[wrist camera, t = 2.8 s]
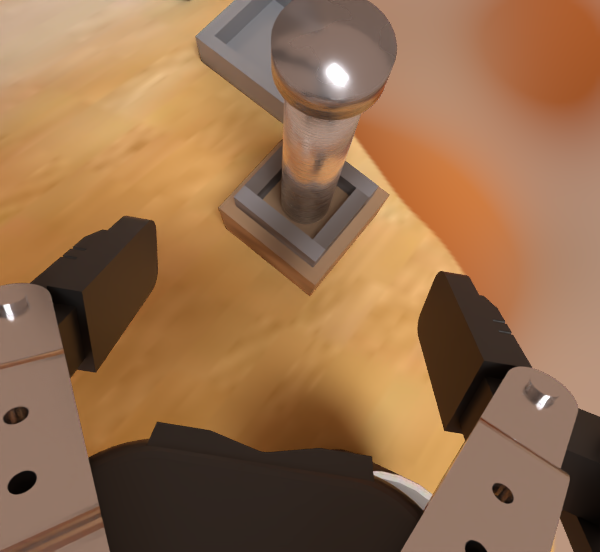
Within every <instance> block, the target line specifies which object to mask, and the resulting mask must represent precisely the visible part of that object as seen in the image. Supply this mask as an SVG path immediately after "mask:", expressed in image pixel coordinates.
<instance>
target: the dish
mask: <svg viewBox="0 0 600 552" xmlns="http://www.w3.org/2000/svg"><path fill="white" fill-rule="evenodd" d="M291 1H293V0H234V1H233V2H232V3H231V4H230V5H229V6H228V7H227V8H226V9H225V10H223V11H222V12H221V13H220V14H219V15H218V16H217V17H216V18H215V19H214V20H213V21H212V22H210V23H209V24H208V25H207V26H206V27H205V28H204V29H203V30H202V31H201V32H200V33H198V34H197V35H196V36H195V37H196V41H197V45H198V49H199V53H200V57H201V61H202V62H203V63H205V64H206V65H207V66H209V67H210V68H211V69H212V70H214V71H215V72H216V73H218V74H219V75H220V76H222V77H223V78H224V79H226V80H227V81H228V82H229V83H231V84H232V85H233V86H235V87H236V88H237V89H239V90H240V91H241V92H243V93H244V94H245V95H246V96H248V97H249V98H250V99H252V100H253V101H254V102H256V103H257V104H258V105H260V106H261V107H262V108H263V109H265V110H266V111H267V112H269V113H270V114H271V115H273V116H274V117H275V118H277V119H278V120H279V121H281V122H282V123H283V121H284V98H283V97H282V96H281V94H280V93H279V91H278V90H277V88H276V86H275V83H274V80H273V77H272V71H271V33H272V28H273V25H274V22H275V20H276V18H277V16H278V15H279V13H280V12H281V11H282V10H283V8H284V7H285V6H286V5H288V4H289V3H290V2H291Z"/></svg>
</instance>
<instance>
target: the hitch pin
mask: <svg viewBox="0 0 600 552" xmlns="http://www.w3.org/2000/svg"><path fill="white" fill-rule="evenodd" d="M396 54H397V43H396V37H395V33H394V30H393V28H392V26H391V24H390V22H389V21H388V19H387V18H386V17H385V15H384V14H383V13H382V12H381V11H380V10H379V9H378V8H377V7H376V6H375V5H373V4H372V3H371V2H369V1H367V0H293V1H291V2H290V3H289V4H288V5H286V6H285V7H284V8H283V10H282V11H281V12H280V13H279V15H278V16H277V18H276V20H275V22H274V25H273V28H272V33H271V71H272V77H273V80H274V83H275V86H276V88H277V90H278V91H279V93H280V94H281V96H282V97H283V98H284V121H283V153H282V185H281V205H282V209H283V211H284V212H285V214H286V215H287V216H288V217H289V218H290V219H291V220H293V221H295V222H297V223H300V224H312V223H315V222H317V221H319V220H321V219H322V218H323V217H324V216H325V215H326V213H327V211H328V209H329V206H330V203H331V200H332V197H333V194H334V191H335V189H336V186H337V183H338V180H339V177H340V174H341V171H342V168H343V165H344V162H345V159H346V156H347V153H348V150H349V147H350V144H351V142H352V139H353V136H354V133H355V130H356V127H357V124H358V121H359V118H360V115H361V113H363V112H365V111H366V110H368V109H369V108H370V107H372V106H373V104H375V102H376V101H377V100H378V99H379V98H380V96H381V94H382V92H383V90H384V88H385V85H386V83H387V80H388V77H389V75H390V72H391V70H392V67H393V65H394V62H395V58H396Z"/></svg>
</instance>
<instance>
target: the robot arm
mask: <svg viewBox="0 0 600 552" xmlns="http://www.w3.org/2000/svg"><path fill="white" fill-rule="evenodd" d="M157 274H158V260H157V237H156V225H155V223H154V221H152V220H147V219H141V218H136V217H130V216H123V217H122V218H121V219H120V220H119V221H118V222H116V223H115V224H114V225H113V226H112V227H111V228H110V229H109V230H100V231H98V232H96V233H93V234H91V235H88V236H86V237H84V238H83V239H82V240H80V241H79V242H78V243H77V244H76V245H75V246H73V249H70V250H69V251H67V252H66V253H65V254H64V255H63V257H60V258H59V259H58V260H57V261H56V262H54V263H53V264H52V265H51V266H50V267H49V268H47V269H46V270H45V271H44V272H43V273H41V274H40V275H39V276H38V277H37V278H35V279H34V280H33V281H32V282H31V283H30V284H29V283H15V284H8V285H3V286H0V552H550V551H551V548H552V544H553V540H554V537H555V533H556V529H557V526H558V522H559V518H560V519H561V522H562V524H563V527H564V529H565V532H566V534H567V536H568V539H569V541H570V544H571V546H572V549H573V551H574V552H600V417H599V416H596V415H594V414H591V413H588V412H586V411H584V410H581V409H579V408H578V404H577V402H576V400H575V398H574V396H573V395H572V394H571V392H570V391H569V390H568V389H567V388H566V387H565V386H563V384H561V383H560V382H559V381H557V380H556V379H555V378H553V377H551V376H550V375H548V374H546V373H544V372H542V371H539V370H537V369H533V368H532V366H531V365H530V363H529V361H528V360H527V358H526V356H525V355H524V353H523V351H522V349H521V348H520V346H519V344H518V343H517V341H516V339H515V337H514V336H513V335H511V331H510V329H509V327H508V326H507V324H505V320H504V319H503V317H502V315H501V314H500V312H499V310H498V308H497V307H495V306H494V305H493V304H492V303H491V302H490V301H489V300H488V299H487V298H485V297H484V296H481V295H479V294H478V292H477V290H476V288H475V287H474V285H473V283H472V281H471V279H470V278H469V276H467V275H461V274H455V273H449V272H444V271H440V272H439V273H438V274H437V275H436V277H435V279H434V281H433V284H432V286H431V289H430V291H429V294H428V296H427V299H426V301H425V304H424V306H423V308H422V311H421V313H420V316H419V320H418V337H419V341H420V344H421V348H422V351H423V355H424V359H425V362H426V366H427V370H428V373H429V377H430V380H431V384H432V388H433V391H434V395H435V399H436V402H437V406H438V409H439V413H440V417H441V420H442V424H443V428H444V431H448V432H455V433H461V434H463V435H464V438H465V442H464V444H463V445H462V447H461V448H460V450H459V452H458V453H457V455H456V457H455V458H454V460H453V462H452V463H451V465H450V467H449V468H448V470H447V471H446V473H445V475H444V476H443V478H442V480H441V481H440V483H439V485H438V486H437V488H436V490H435V491H434V493H433V495H432V496H431V498H430V500H429V501H428V503H427V504H426V506H425V508H424V509H423V510H422V509H421V507H420V506H419V505H418V504H417V503H416V502H414V501H413V500H412V499H411V498H410V497H409V496H407V495H406V494H405V493H404V492H402V491H401V490H400V489H398V488H397V487H395V486H394V485H392V484H391V483H389V482H387V481H385V480H383V479H382V478H380V477H377V476H375V475H374V474H373V463H372V456H366V455H360V454H354V453H347V452H341V451H335V450H329V449H323V448H314V449H302V450H290V451H278V452H261V451H258V450H255V449H253V448H251V447H248V446H246V445H244V444H241V443H239V442H237V441H234V440H232V439H229V438H227V437H225V436H222V435H220V434H218V433H215V432H213V431H211V430H205V429H198V428H192V427H186V426H180V425H174V424H167V423H161V422H157V423H156V426H155V428H154V430H153V432H152V435H151V437H150V439H144V440H137V441H132V442H127V443H124V444H120V445H117V446H113V447H111V448H108V449H106V450H103V451H101V452H99V453H97V454H95V455H93V456H91V457H89V458H88V455H87V450H86V446H85V442H84V437H83V433H82V429H81V424H80V420H79V415H78V411H77V407H76V402H75V398H74V394H73V389H72V385H71V380H70V378H71V377H72V375H73V374H74V373H75V371H76V370H83V371H89V372H95V373H96V372H97V370H98V369H99V367H100V366H101V364H102V363H103V361H104V360H105V359H106V357H107V356H108V354H109V353H110V351H111V350H112V348H113V347H114V345H115V344H116V343H117V341H118V340H119V338H120V337H121V335H122V334H123V332H124V331H125V329H126V328H127V327H128V325H129V324H130V322H131V321H132V319H133V318H134V316H135V315H136V313H137V312H138V311H139V309H140V308H141V306H142V305H143V303H144V302H145V300H146V299H147V297H148V296H149V295H150V293H151V292H152V290H153V288H154V286H155V283H156V280H157Z"/></svg>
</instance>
